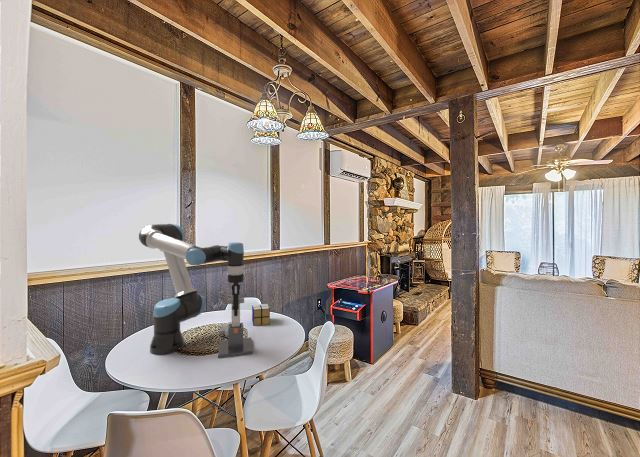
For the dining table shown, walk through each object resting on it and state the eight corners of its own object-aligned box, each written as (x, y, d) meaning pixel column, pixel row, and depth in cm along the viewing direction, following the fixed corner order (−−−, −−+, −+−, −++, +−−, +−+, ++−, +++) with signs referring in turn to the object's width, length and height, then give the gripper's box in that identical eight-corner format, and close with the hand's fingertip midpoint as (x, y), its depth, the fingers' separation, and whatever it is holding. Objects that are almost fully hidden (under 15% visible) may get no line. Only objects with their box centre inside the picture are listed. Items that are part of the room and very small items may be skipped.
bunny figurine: (220, 333, 153) (216, 320, 166) (220, 342, 153) (216, 329, 166) (238, 330, 157) (232, 318, 170) (238, 338, 158) (232, 326, 171)
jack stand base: (218, 358, 134) (217, 333, 133) (219, 343, 149) (219, 321, 149) (253, 353, 138) (253, 330, 138) (251, 340, 154) (251, 318, 153)
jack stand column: (227, 344, 140) (227, 300, 139) (227, 341, 144) (227, 298, 144) (244, 343, 143) (244, 299, 142) (244, 339, 147) (244, 296, 146)
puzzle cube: (252, 320, 183) (252, 304, 182) (267, 318, 186) (267, 303, 185) (253, 326, 173) (253, 309, 173) (269, 324, 176) (270, 308, 176)
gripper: (244, 277, 135) (244, 325, 136) (243, 270, 151) (243, 314, 152) (227, 277, 133) (227, 327, 134) (228, 270, 149) (228, 315, 150)
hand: (235, 320), depth 143 cm, fingers closed on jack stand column, 4 cm apart
